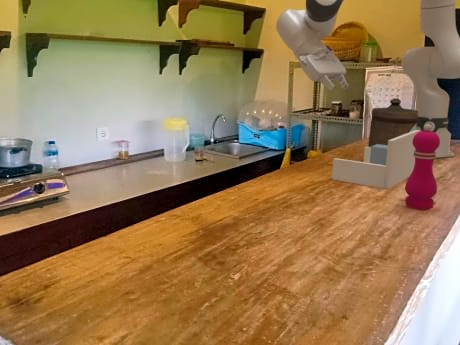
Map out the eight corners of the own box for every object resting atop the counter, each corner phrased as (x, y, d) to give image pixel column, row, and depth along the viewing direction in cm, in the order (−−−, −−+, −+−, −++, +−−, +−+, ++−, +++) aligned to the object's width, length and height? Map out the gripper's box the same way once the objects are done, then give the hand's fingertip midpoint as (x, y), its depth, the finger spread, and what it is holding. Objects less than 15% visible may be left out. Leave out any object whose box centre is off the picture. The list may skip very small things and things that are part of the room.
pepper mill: (401, 207, 115) (409, 124, 110) (405, 199, 121) (413, 121, 116) (433, 212, 112) (443, 127, 107) (436, 204, 118) (446, 123, 113)
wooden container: (419, 168, 156) (426, 100, 151) (373, 167, 157) (379, 99, 151) (403, 158, 171) (410, 96, 165) (362, 158, 171) (367, 96, 166)
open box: (364, 167, 156) (368, 125, 152) (415, 175, 146) (420, 130, 143) (331, 182, 137) (334, 134, 133) (387, 192, 127) (392, 140, 124)
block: (374, 173, 144) (377, 144, 142) (391, 176, 141) (394, 146, 139) (368, 176, 140) (371, 146, 138) (385, 179, 137) (388, 148, 135)
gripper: (303, 45, 137) (332, 82, 133) (333, 47, 153) (360, 80, 149) (288, 61, 140) (317, 97, 137) (320, 61, 156) (345, 93, 153)
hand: (339, 88), depth 143 cm, fingers open, 8 cm apart
